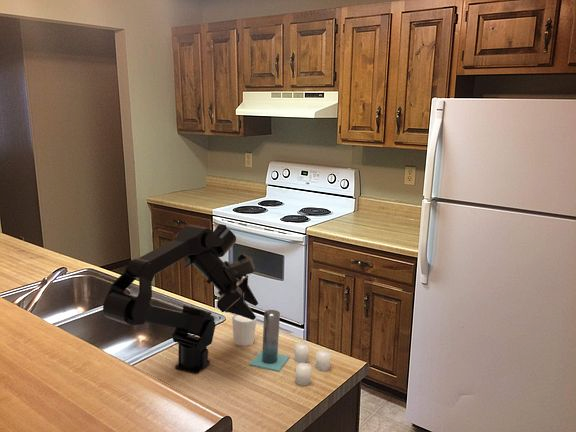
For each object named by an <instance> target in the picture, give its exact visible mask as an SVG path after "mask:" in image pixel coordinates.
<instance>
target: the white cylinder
mask: <svg viewBox="0 0 576 432" xmlns="http://www.w3.org/2000/svg"><path fill="white" fill-rule="evenodd" d="M231 321H232V322H231V323H232V333H233V334H232V336H233V338H232V339H233V343H234V344H235V345H236V346H244V347H246V346H250V345H253V343H254V341H255V334H256V327H257V317H256V318H255V319H254V320H251V319H248V318H245V317H243V316H240V315H237V314H234V315H233V316H232V317H231Z"/></svg>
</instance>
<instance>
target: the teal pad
mask: <svg viewBox="0 0 576 432" xmlns="http://www.w3.org/2000/svg"><path fill="white" fill-rule="evenodd" d="M289 359H290V356H289V355H286V354H280V353H278V357H277V362H276V363H273V364H267V363H264V362H263V361H262V350H260V351H259V353H258V354H257V355H255V357H254V359H252V360H251V362H250V363H249V366H251V367H256V368H260V369H266V370H269V371H273V372H281V370H282V368H283V367H284V366H285V365H286V363H287V361H289Z"/></svg>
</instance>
